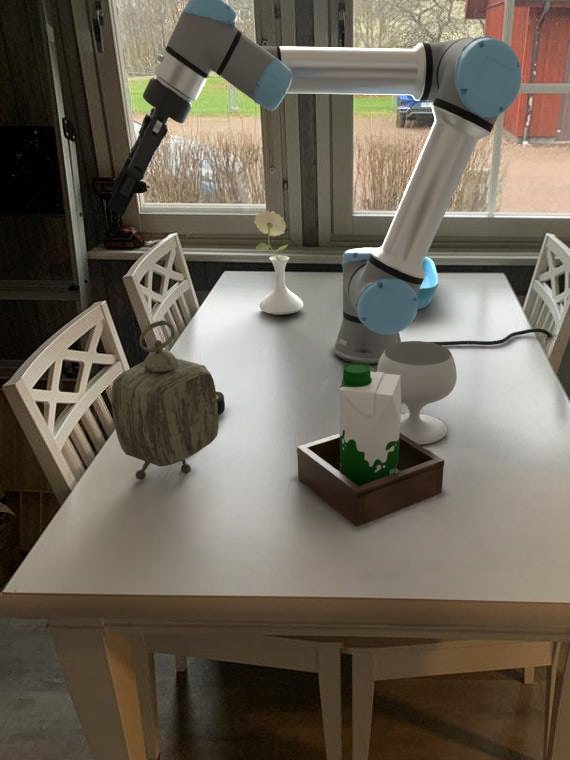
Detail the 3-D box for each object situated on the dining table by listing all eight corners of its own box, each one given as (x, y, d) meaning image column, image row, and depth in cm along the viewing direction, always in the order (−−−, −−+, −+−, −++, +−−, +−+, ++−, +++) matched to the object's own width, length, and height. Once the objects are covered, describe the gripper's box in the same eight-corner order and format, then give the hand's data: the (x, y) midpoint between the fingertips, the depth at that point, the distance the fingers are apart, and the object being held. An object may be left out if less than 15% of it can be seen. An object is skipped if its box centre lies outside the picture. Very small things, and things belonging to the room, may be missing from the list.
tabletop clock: (186, 445, 127) (168, 304, 114) (227, 458, 123) (213, 314, 110) (124, 481, 116) (97, 331, 103) (166, 497, 112) (143, 343, 99)
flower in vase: (312, 309, 191) (309, 210, 179) (285, 321, 183) (281, 218, 170) (273, 301, 197) (267, 204, 184) (245, 312, 189) (238, 211, 176)
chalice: (399, 455, 124) (403, 374, 117) (361, 422, 135) (362, 346, 127) (467, 438, 130) (474, 359, 122) (425, 408, 141) (430, 333, 133)
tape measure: (225, 405, 141) (223, 387, 139) (226, 421, 135) (224, 402, 133) (189, 408, 140) (186, 390, 138) (188, 423, 134) (186, 405, 132)
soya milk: (347, 469, 120) (347, 355, 110) (401, 475, 119) (406, 360, 108) (335, 497, 113) (334, 377, 103) (392, 504, 111) (397, 383, 101)
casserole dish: (440, 316, 188) (442, 288, 184) (354, 315, 188) (354, 287, 184) (430, 276, 219) (432, 252, 216) (356, 275, 219) (356, 251, 216)
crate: (379, 451, 126) (380, 420, 123) (442, 493, 114) (444, 459, 111) (297, 479, 118) (296, 446, 114) (356, 527, 106) (356, 492, 103)
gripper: (152, 69, 129) (100, 176, 136) (151, 81, 109) (90, 206, 116) (191, 95, 133) (138, 199, 140) (197, 112, 112) (135, 232, 120)
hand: (116, 202), depth 128 cm, fingers open, 13 cm apart
